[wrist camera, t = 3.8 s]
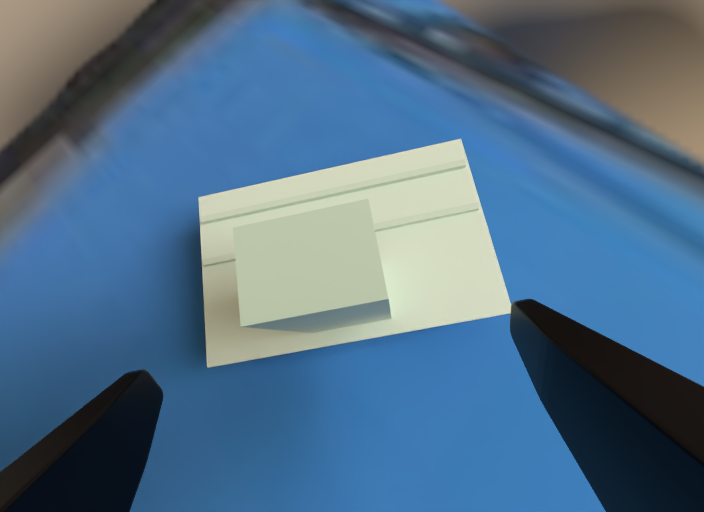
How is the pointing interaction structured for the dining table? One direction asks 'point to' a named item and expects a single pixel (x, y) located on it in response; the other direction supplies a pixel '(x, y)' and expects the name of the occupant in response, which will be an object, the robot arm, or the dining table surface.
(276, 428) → the dining table surface
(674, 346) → the dining table surface
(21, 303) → the dining table surface
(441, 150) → the pale green grooved stand
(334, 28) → the dining table surface
